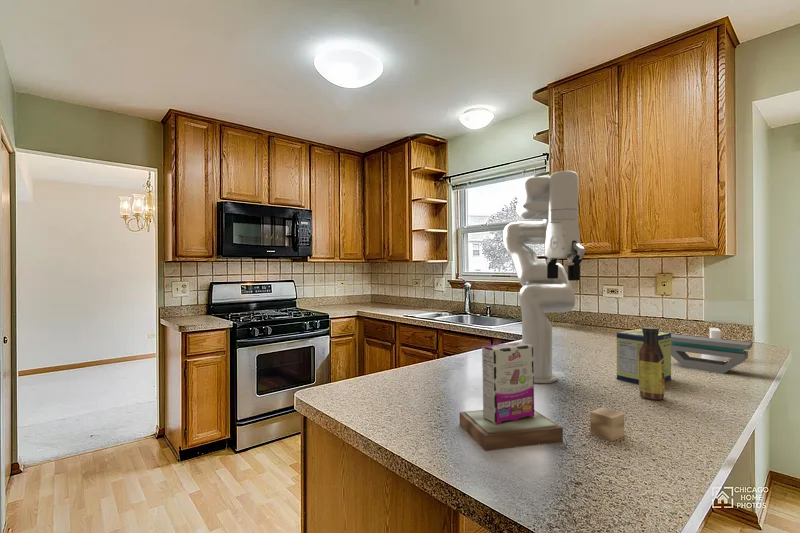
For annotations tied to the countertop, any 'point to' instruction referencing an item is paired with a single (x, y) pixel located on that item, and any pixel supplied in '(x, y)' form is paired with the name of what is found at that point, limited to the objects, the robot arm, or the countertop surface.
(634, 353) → the protein box
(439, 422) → the countertop surface
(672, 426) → the countertop surface
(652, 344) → the sauce bottle
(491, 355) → the candy bar box
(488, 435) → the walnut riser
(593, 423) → the oak block
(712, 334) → the base with upright slab
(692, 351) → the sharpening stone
